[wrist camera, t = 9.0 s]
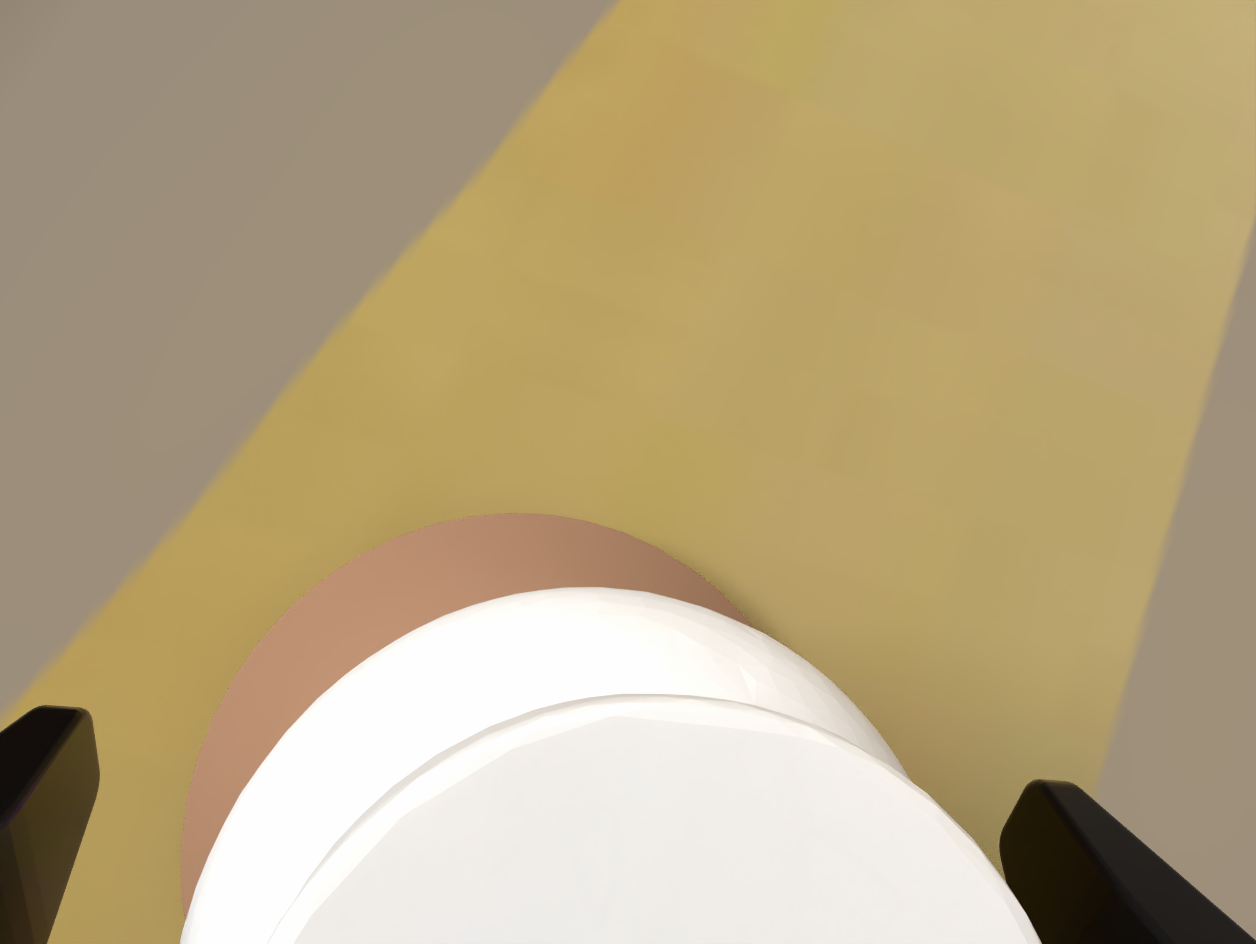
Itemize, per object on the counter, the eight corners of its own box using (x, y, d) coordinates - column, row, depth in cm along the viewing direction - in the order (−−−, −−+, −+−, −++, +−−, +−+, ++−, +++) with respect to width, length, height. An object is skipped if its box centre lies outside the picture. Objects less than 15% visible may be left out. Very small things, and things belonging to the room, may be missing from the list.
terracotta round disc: (790, 1162, 18) (813, 1193, 17) (143, 1150, 16) (119, 1184, 15) (811, 554, 21) (832, 545, 19) (255, 495, 19) (242, 480, 18)
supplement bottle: (454, 572, 18) (447, 291, 6) (772, 750, 18) (1424, 851, 6) (241, 931, 16) (-442, 1654, 4) (597, 1124, 16) (1016, 2385, 4)
